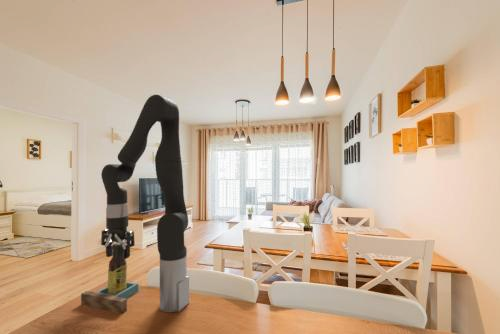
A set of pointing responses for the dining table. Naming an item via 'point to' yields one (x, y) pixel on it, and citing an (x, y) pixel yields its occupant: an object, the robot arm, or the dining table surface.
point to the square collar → (130, 290)
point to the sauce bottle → (117, 271)
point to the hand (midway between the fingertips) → (117, 257)
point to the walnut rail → (104, 302)
